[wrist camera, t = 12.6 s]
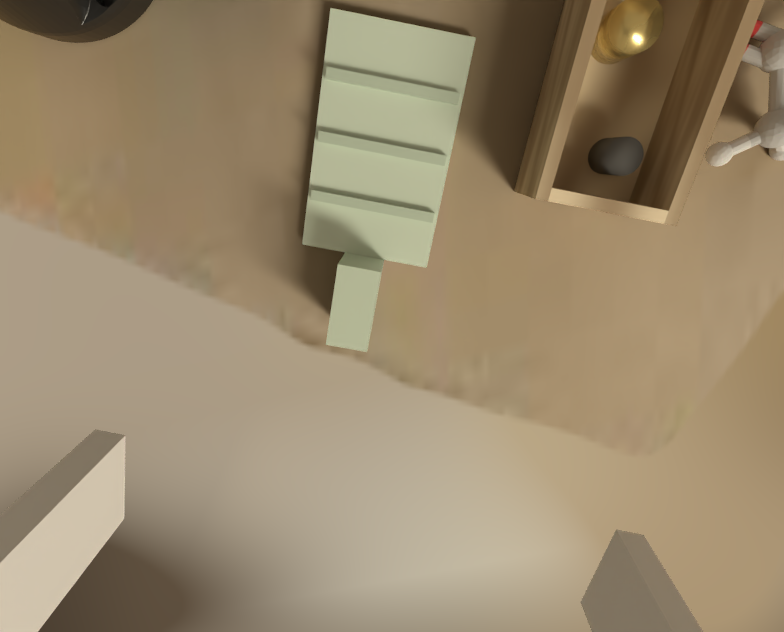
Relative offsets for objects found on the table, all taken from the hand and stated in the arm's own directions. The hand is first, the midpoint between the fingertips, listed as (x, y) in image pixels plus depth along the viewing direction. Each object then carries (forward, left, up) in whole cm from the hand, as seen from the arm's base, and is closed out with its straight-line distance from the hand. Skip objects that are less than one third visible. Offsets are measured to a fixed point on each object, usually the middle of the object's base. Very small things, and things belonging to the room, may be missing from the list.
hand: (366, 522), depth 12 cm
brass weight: (+11, +19, -25) cm, 33 cm away
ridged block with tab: (-2, +6, -26) cm, 26 cm away
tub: (+12, +16, -26) cm, 32 cm away
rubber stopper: (+13, +12, -25) cm, 31 cm away
